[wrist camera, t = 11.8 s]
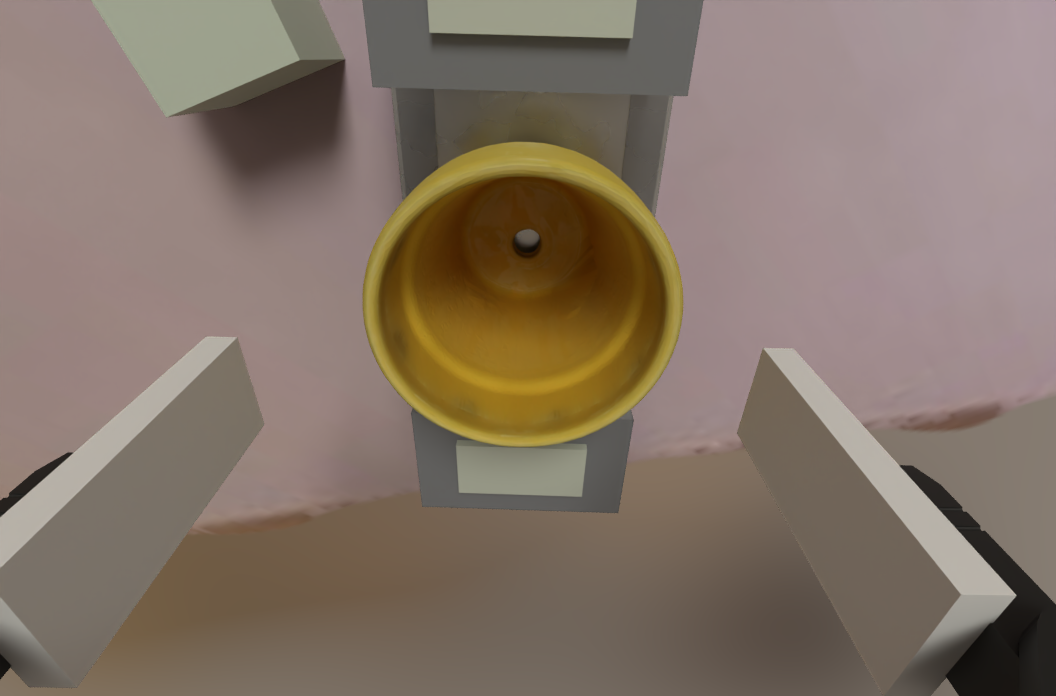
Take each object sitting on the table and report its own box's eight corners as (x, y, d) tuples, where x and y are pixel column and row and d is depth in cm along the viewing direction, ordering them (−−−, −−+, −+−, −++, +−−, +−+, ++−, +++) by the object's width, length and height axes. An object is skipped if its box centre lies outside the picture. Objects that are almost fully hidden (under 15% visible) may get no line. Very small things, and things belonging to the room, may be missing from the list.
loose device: (234, 106, 24) (166, 117, 19) (179, 10, 22) (90, -2, 17) (345, 59, 23) (300, 59, 18) (298, -47, 21) (234, -74, 16)
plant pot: (660, 286, 26) (719, 399, 17) (479, 353, 28) (453, 483, 19) (591, 75, 21) (626, 87, 12) (380, 176, 23) (288, 246, 15)
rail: (432, 416, 33) (426, 437, 31) (384, -112, 19) (368, -129, 18) (616, 421, 33) (620, 443, 31) (691, -104, 19) (706, -120, 18)
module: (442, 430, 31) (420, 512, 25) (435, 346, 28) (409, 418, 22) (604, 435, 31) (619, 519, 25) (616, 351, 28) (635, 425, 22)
